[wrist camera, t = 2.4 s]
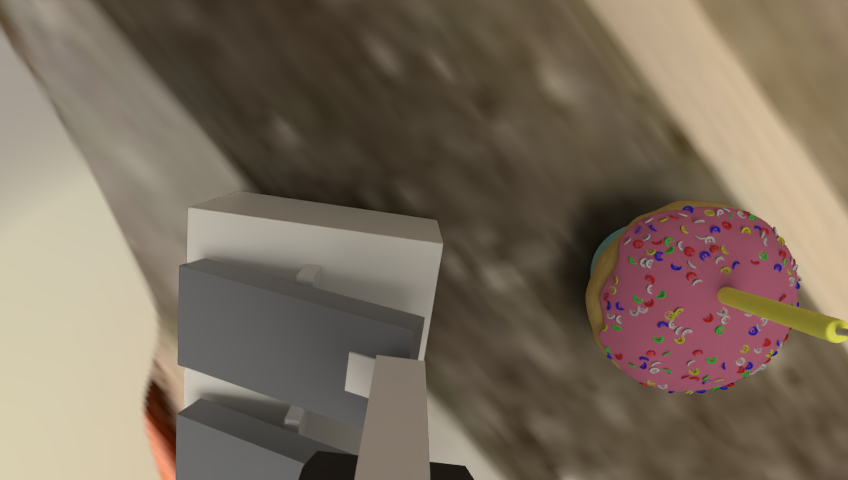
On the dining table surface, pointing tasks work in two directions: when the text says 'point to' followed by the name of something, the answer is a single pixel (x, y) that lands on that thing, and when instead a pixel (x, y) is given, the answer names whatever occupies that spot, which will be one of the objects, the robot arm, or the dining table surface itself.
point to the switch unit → (314, 278)
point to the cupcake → (697, 297)
